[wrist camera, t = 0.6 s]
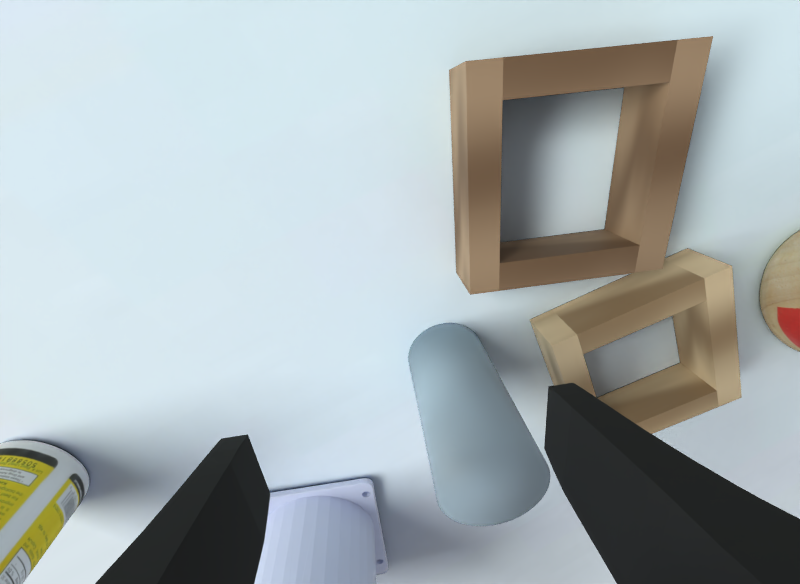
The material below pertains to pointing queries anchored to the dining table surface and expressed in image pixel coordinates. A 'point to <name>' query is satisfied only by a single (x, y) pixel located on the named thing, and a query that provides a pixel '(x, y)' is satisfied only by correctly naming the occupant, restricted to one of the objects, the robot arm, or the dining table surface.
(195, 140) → the dining table surface
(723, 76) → the dining table surface
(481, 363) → the thick gray cylindrical peg
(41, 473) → the supplement bottle
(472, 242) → the wooden square ring
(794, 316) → the ladybug figurine
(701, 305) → the light wooden square frame
